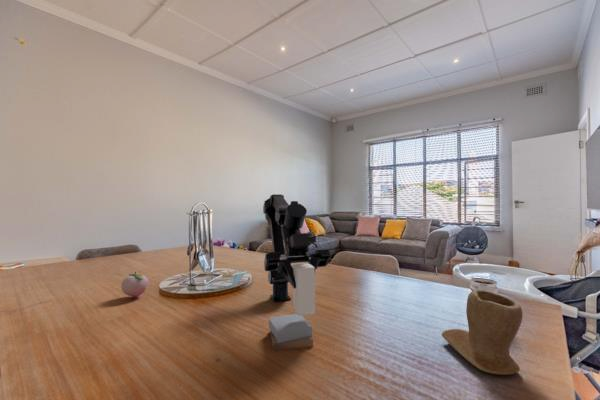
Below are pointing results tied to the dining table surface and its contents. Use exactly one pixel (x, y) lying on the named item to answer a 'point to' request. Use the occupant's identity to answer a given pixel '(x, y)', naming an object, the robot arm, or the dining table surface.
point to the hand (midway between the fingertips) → (304, 286)
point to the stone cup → (488, 332)
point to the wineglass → (483, 285)
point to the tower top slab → (289, 327)
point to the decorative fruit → (134, 285)
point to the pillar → (304, 289)
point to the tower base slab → (291, 343)
